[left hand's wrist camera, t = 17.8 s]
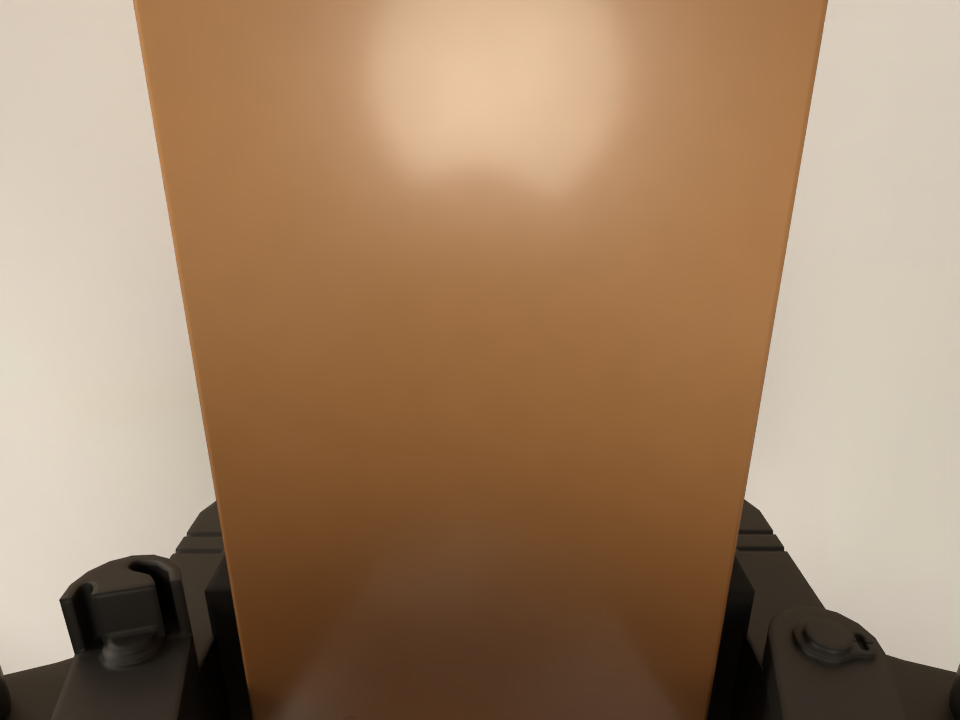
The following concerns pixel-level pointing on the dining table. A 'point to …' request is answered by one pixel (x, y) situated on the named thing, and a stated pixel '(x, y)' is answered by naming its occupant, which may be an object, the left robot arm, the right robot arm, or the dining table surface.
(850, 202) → the dining table surface
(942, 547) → the dining table surface
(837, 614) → the left robot arm
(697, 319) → the post
